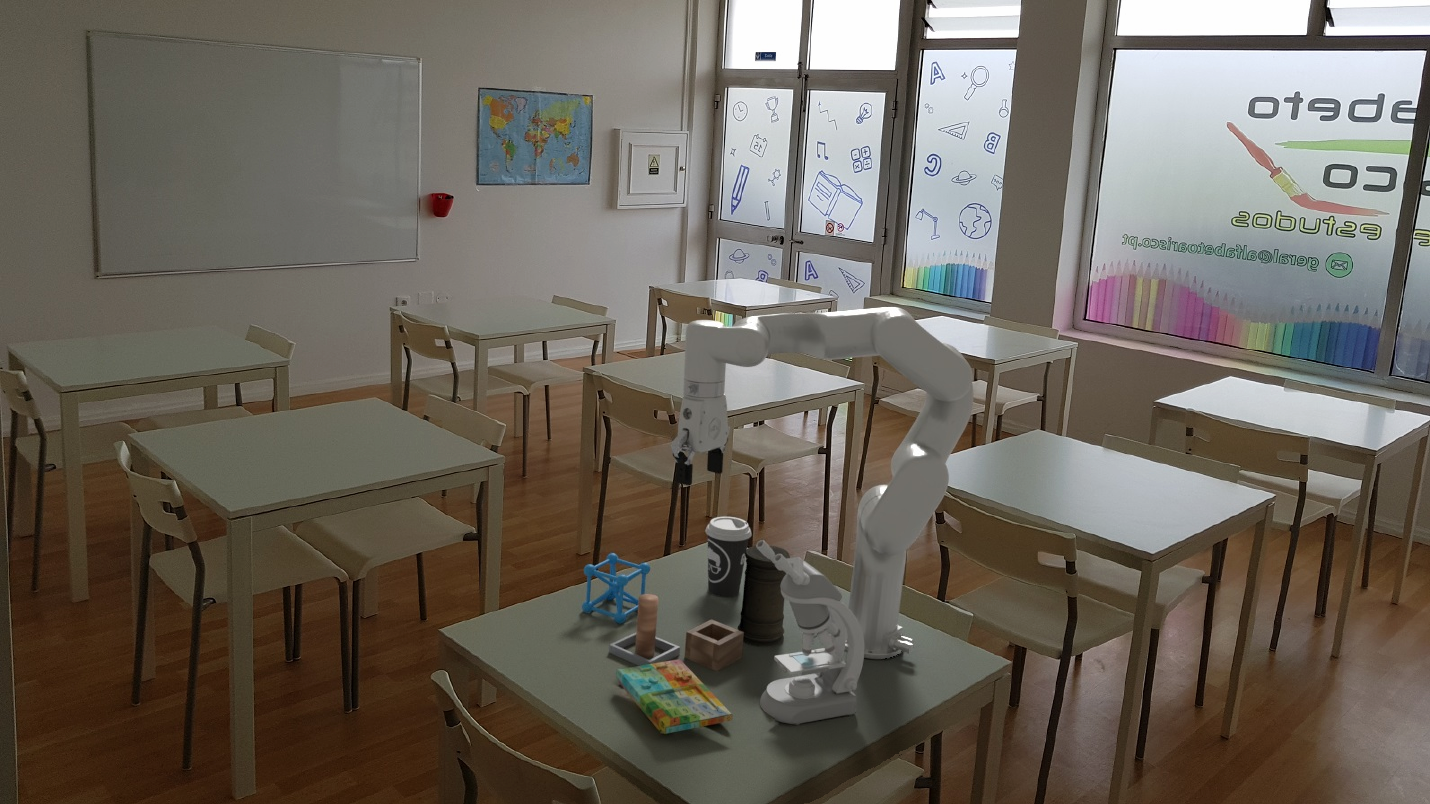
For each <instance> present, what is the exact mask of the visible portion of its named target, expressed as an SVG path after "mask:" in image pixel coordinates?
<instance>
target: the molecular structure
mask: <svg viewBox="0 0 1430 804" xmlns="http://www.w3.org/2000/svg"><path fill="white" fill-rule="evenodd" d="M617 563H618V564H621V565H625V566H628V567H632V568H634V569H637V570H636V571H633V572H631V573H629V574H628V575H626V574H619V575H617V570H616V564H617ZM608 564H609V573H605V572H603V571H599V570H598V569H599V568H601V567H603V566H605V565H608ZM650 572H651V565H650V564H649V563H647V562H641V563H640V564H637V563H633V562H630V561H627V560H623V559H620V558H619V556H618V555H617V554H616V553H614V552H610V553H609V554H608V555H607V556H606V559H605V560H604V561H602V562H599V563H598V564H596V565H593V564H591V563H590V564H587V565H585V566H584V568H583V573H584V575H585V576H587V577H586V578H587V579H586V581H587V582H586V583H587V584H586V597H585V598H586V599H585V600H584V602H582V604H581V609H582V611H583V612H584V613H587V614H588V613H589V612H590V613H592V611H593V612H596V613H599V614H602V615H606V616H608V617H611V618H613V620H614V622H615V623H616V624H623V623H625V622H626V619H627V617H628V616H629V615H630V614H632V613H634V612H635V611H636V612H637V611H638V602H639V598H638V599H637V597H635V596H633V595H631V594H630V593H628V592H627V591H625V590H624V589H625V588H624V587H626V586H627V585H628V583H629V582H630V581H632V580H633V579H634V578H636V577H637V576H640V574H641V588H640V595H643V594H646V591H645V590H646V578H647V575H648V574H649V573H650ZM593 576H594V577H595V578H597V579H599V580H601V581H602V582H603V583H605V584H606V585H608V589H606V590H605V592H604V593H603V594H601V595H600V596H599V597H597V598H596V599H594V600H593V601H591V588H592V587H591V586H592V577H593ZM605 600H607V601H613V600H615V604H616V612H615V613H613V612H611V611H608V610H605V609H601V608H598V607H596V605H597V604H599V603H601V602H603V601H605ZM623 602H626V603H630V604H633V605H635V606H633V607H632V608H631V609H628V610H627V611H625V612H624V611H623V606H624V603H623Z"/></svg>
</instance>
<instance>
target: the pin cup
mask: <svg viewBox="0 0 1430 804" xmlns="http://www.w3.org/2000/svg"><path fill="white" fill-rule="evenodd" d="M743 636H744V632H742V631H739V630H738V628H734V627H732V626H730V625H727V624H724V623H723V622H722V623H721V622H720V621H716V620H714V619H709V620H708V621H705V622H703V623H701V624H699V625H698V626H694V627H693V628H692V629H689V630H687V631H686V634H685V647H684V658H685V659H688V660H689V661H692V662H694V663H696V664H699V665H701V666H703V667H705V668H708V669H711V670H713V671H715V672H719V671H720V670H722V669H724V668H726V667H728V666H730V665H731V664H734V663H735V662H737V661H738V660H741V659H742V656H743V647H744V646H743V645H744V642H743Z"/></svg>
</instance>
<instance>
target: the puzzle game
mask: <svg viewBox="0 0 1430 804" xmlns="http://www.w3.org/2000/svg"><path fill="white" fill-rule="evenodd" d="M615 675H616V676H615V677H616V679H617V680H618V681H617V682H619V684H620V685H621V687H622V688H623V689H624V691H625V692H626V693H627V694H628V696H629V697H630V698H631V699H632V701H633V702H634V703H635V704H636V705H637V707H638V708H639V709H641V711H642V712H643V714H644V715H645V717H647V719H649V721H650V722H651V723H652V725H654V726H655V729H657V730H658V732H660V734H661V735H662V734H664V735H666V734H667V735H668V734H671V733H676V732H681V731H685V730H687V731H688V730H692V729H696V728H702V727H704V726H705V727H706V726H712V725H717V724H721V723H726V722H730V721H733V714H732V713H731V712H730V711H729V709H728V708H727V707H726V706H725V705H724V704H723V703H722V702H721V701H720V699H718V698H717V697H716V695H714V694H713V692H712V691H711V690H710V689H709V688H708V687H707V686H706V685H705V684H704V683H703V682H702V680H700V678H699V677H697V676H696V674H695V673H694V672H693V671H692V670H691V669H690V668H689V667H688V666H687V665H686V664H685V663H684V662H683V661H682V660H681V659H679V658H677V659H671V660H668V661H666V662H660V663H654V664H648V665H642V666H638V665H636V666H631V667H626V668H625V667H624V668H619V669H616V674H615Z"/></svg>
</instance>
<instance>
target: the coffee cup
mask: <svg viewBox="0 0 1430 804" xmlns="http://www.w3.org/2000/svg"><path fill="white" fill-rule="evenodd" d="M705 534H706V535H707V579H708V583H707V585H708V586H707V587H708V589H707V590H708V592H709V593H711V594H712V595H714V596H716V597H724V598H730V597H735V596H737V595H739V593H740V589H741V585H742V584H741V583H742V578H743V571H744V567H745V562H746V557H745V552H746V550H747V549H748V543H749V539H750V538H751V537H752V530H751V527H750V526H749V523H748V522H747V521H746V520H744V519H742V518H739V517H734V516H717V517H714V518H712V519H710V521H709V523H708V524H707V526H706V528H705Z"/></svg>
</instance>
